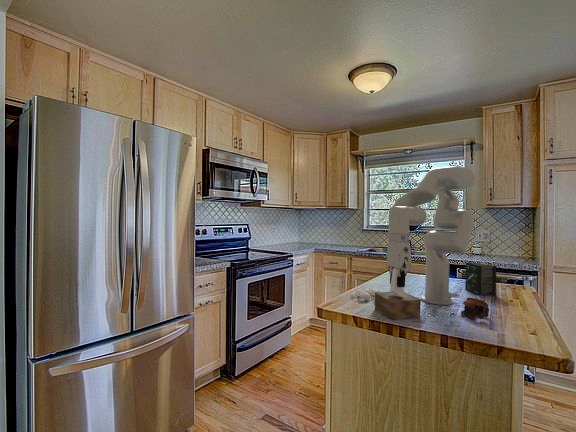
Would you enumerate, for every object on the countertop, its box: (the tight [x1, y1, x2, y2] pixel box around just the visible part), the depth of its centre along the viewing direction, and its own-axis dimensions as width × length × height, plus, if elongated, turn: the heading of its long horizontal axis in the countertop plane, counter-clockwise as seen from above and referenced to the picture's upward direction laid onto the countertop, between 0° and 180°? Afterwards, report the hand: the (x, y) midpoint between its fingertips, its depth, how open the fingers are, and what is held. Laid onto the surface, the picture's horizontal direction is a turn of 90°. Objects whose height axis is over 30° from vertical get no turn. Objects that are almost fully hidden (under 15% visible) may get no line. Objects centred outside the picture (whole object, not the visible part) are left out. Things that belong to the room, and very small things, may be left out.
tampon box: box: [464, 261, 497, 296], centre depth 155 cm, size 11×9×15 cm
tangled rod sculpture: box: [351, 287, 381, 301], centre depth 144 cm, size 19×14×4 cm
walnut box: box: [374, 291, 422, 321], centre depth 119 cm, size 12×12×7 cm
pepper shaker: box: [389, 267, 405, 293], centre depth 119 cm, size 5×5×11 cm
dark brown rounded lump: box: [460, 297, 490, 321], centre depth 116 cm, size 12×10×8 cm
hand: (397, 284), depth 119 cm, fingers closed on pepper shaker, 3 cm apart
